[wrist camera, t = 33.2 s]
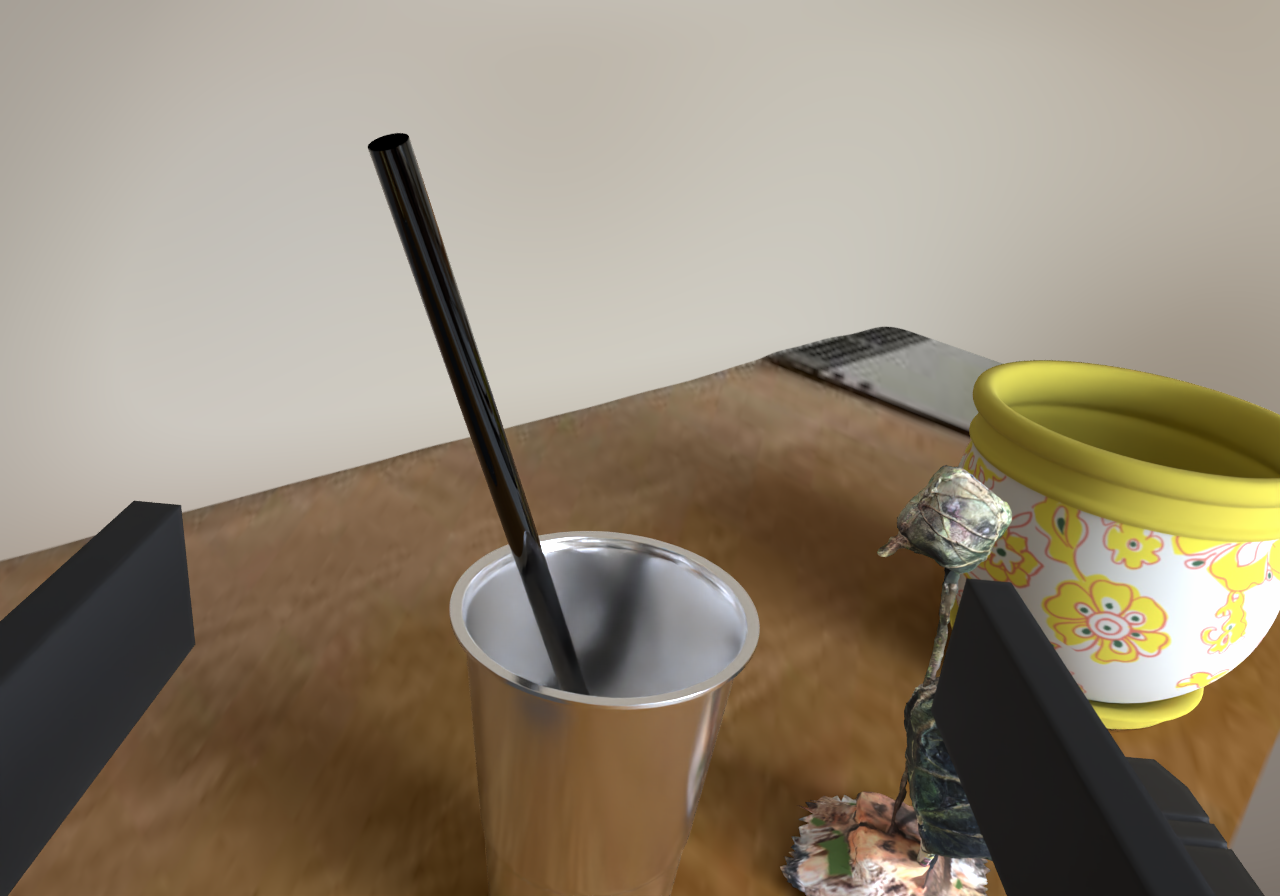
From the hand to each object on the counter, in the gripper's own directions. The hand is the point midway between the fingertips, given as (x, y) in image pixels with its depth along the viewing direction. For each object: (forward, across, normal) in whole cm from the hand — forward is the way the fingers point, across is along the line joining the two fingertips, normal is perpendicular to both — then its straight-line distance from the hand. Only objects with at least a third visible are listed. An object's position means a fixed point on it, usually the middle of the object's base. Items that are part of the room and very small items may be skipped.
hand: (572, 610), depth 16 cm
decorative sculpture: (+17, +15, -24) cm, 33 cm away
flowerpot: (+35, +29, -24) cm, 51 cm away
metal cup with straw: (+12, 0, -24) cm, 27 cm away
